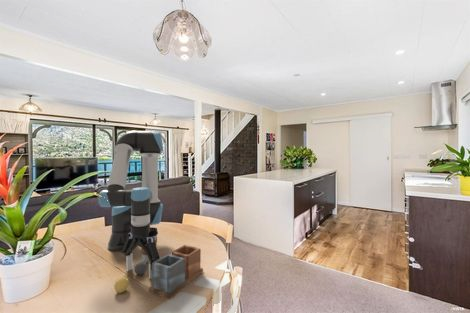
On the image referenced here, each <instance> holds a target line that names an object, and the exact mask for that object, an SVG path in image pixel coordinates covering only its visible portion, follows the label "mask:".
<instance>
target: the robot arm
mask: <svg viewBox="0 0 470 313" xmlns="http://www.w3.org/2000/svg"><path fill="white" fill-rule="evenodd" d="M114 145H115V146H114V149H113V150H114V158H113V162H112V166H111V170H110V174H109V178H108V181H107V187H106V189H104V190H100V192H99V194H98V198H97V200H98V201H97V203H98V205H99V206H100V207H101V208H112V209H111V216H110V217H111V235H110V237H109V240H108V243H107V249H108V250H110V251H114V252H115V251H116V252H118V251H119V252H120V251H121V253H122V254H124V256H125V263H126V264H125V266H126V272H130V271H132V270H134V266H133V263H134V261H133V260H134V259H133V257H134V256H133V255H134V254H133V252H134V250H135V249H136V247H140V248H141V247H142V249H144V251H145V253H146V255H147V256H148V258H149V260H150V262H148V280H152V263H153V262H155V261H156V260H158V259H160V258H161V257H160V254H159V251H158V248H157V245H156V244H155V239H154V237H151V238H150V237H149V236H148V234H149V232H150V227H151V226H154V225H159V224H161V221H162V213H163V208H164V207H163V206H164V204H163V203H161V199H159V193H158V190H159V189H158V188H159V183H158V182H159V178H158V177H159V156H161V154H162V152H163V151H164V146H163V145H164V144H163V137H162V134H161V132H159V131H154V130H153V131H152V130H148V131H147V130H131V131H127V132H126V133H124V134H123V135H121V136H120V137H119V138H118V139H117V141H116V142H115V144H114ZM134 152H139V155H140V157H142V158H141V160H142V162H141V164H142V165H141V166H142V167H141V172H142V173H141V174H142V175H141V187H139V186H138V187H134V188H132V189H125V188H126V186H127V185H126V184H127V179H128V173H129V167H130V162H131V158H132V157H131V156H133V154H134ZM99 195H101V196H102V197H99ZM104 197H105V198H104ZM107 200H108V201H107ZM146 244H147V245H146ZM145 245H146V246H145ZM152 258H153V259H152Z"/></svg>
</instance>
